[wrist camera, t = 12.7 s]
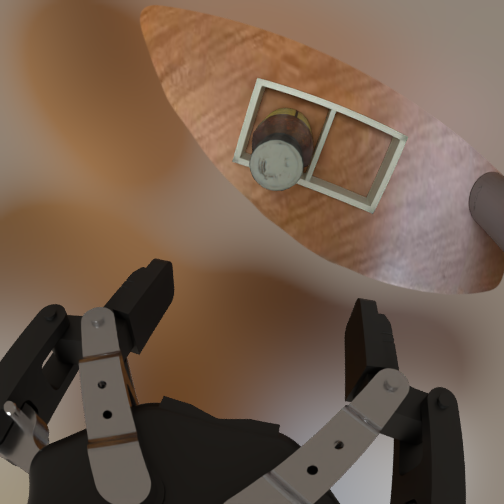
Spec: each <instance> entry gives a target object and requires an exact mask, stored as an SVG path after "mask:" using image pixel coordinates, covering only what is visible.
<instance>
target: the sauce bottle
mask: <svg viewBox="0 0 504 504" xmlns="http://www.w3.org/2000/svg"><path fill="white" fill-rule="evenodd" d="M312 153H313V137H312V133H311V129H310V125H309V123H308V120H307V119H306V117H305V116H304V115H303V114H302V113H300V112H298V111H297V110H294V109H291V108H280V109H278V110H275V111H273V112H272V113H271V114H269V115H268V116H267V117H266V118H265V119H264V120H263V121H262V122H261V123H260V124H259V125H258V127H257V128H256V130H255V131H254V133H253V139H252V154H251V158H250V162H249V166H250V171H251V173H252V176H253V178H254V179H255V180H256V182H257V183H259V184H260V185H261V186H262V187H264V188H266V189H269V190H273V191H279V190H280V191H283V190H286V189H288V188H290V187H292V186H293V185H295V184H296V183H297V182H298V181H299V179H300V178H301V176H302V173H303V168H304V167H306V166H307V165H309V163H310V161H311V157H312Z"/></svg>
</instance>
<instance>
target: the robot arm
mask: <svg viewBox="0 0 504 504" xmlns="http://www.w3.org/2000/svg"><path fill="white" fill-rule="evenodd" d="M469 206H470V212H471V215H472V216H473V218H474V220H475V221H476V222H477V223H478V224H479V225H480V226H481V227H482V228H483V229H484V230H485V232H486V233H487V234H488V235H489V236H490V237H491V238H492V239H493V240H494V242H495V243H496V244H497V245H498V246H499V247H500V248H501V250H502V251H503V252H504V176H503V175H501V174H499V173H496V172H490V173H487V174H484V175H483V176H482V177H480V178H479V179H478V180H477V182H476V183H475V185H474V186H473V188H472V191H471V194H470V199H469ZM173 296H174V280H173V267H172V263H171V262H170V261H164V260H160V259H153V260H152V261H151V263H150V264H149V265H148V266H147V267H146V268H144V267H142V268H140V269H138V270H136V271H135V272H133V273H132V274H131V275H130V276H129V277H128V279H127V281H125V282H124V283H123V284H122V286H121V287H120V288H119V289H118V290H117V292H116V293H115V294H114V295H113V296H112V297H111V299H110V300H109V301H108V302H107V303H106V305H105V306H104V307H97V308H93V309H91V310H89V311H87V312H86V313H85V314H84V315H83V316H72V315H67V313H66V311H65V309H64V307H63V306H61V305H57V304H53V305H48V306H46V307H44V308H43V309H42V310H41V311H40V312H39V313H38V314H37V315H36V317H35V318H34V319H33V320H32V321H31V323H30V324H29V325H28V326H27V328H26V329H25V330H24V331H23V333H22V334H21V335H20V336H19V338H18V339H17V340H16V341H15V343H14V344H13V345H12V347H11V348H10V349H9V351H8V352H7V353H6V355H5V356H4V357H3V359H2V360H1V362H0V457H2V458H4V459H6V460H7V461H8V462H10V463H11V464H13V465H15V466H18V467H20V468H21V469H23V470H24V471H25V472H27V473H28V474H29V482H30V486H29V499H28V504H340V503H339V502H338V500H337V499H336V497H335V496H334V494H333V493H332V492H331V490H330V488H331V487H332V486H333V485H334V484H335V483H336V482H337V481H338V480H339V479H340V478H341V477H342V476H343V475H344V474H345V473H346V472H347V470H348V469H349V468H350V467H351V466H352V465H353V464H354V463H355V462H356V461H357V460H358V458H359V457H360V456H361V455H362V454H363V453H364V452H365V450H366V449H367V448H368V447H369V446H370V444H371V443H372V442H373V441H374V440H375V438H376V437H377V436H378V435H379V433H381V434H384V435H386V436H389V437H392V438H394V454H393V475H392V490H391V501H390V504H466V486H465V463H464V451H463V440H462V432H461V424H460V418H459V411H458V404H457V400H456V398H455V396H454V395H453V394H452V392H450V391H449V390H447V389H446V388H442V387H438V388H434V389H432V390H431V391H430V392H429V394H428V393H425V392H423V391H420V390H417V389H414V388H412V387H411V386H409V382H408V380H407V378H406V377H405V376H404V375H403V374H402V373H401V372H400V371H399V367H398V361H397V355H396V349H395V344H394V338H393V335H392V328H391V324H390V322H389V321H388V319H387V318H386V316H385V315H384V314H378V311H377V305H376V302H375V301H373V300H367V299H361V298H358V299H357V301H356V303H355V306H354V308H353V311H352V313H351V316H350V318H349V321H348V323H347V326H346V331H345V401H348V402H351V403H350V404H349V405H348V406H347V405H346V406H345V407H343V408H342V409H341V410H340V411H339V412H338V413H337V414H336V415H335V416H334V417H333V418H332V419H331V420H330V421H329V422H328V423H327V424H326V425H325V426H324V427H323V428H322V429H321V430H319V431H318V432H317V433H316V434H315V435H314V436H313V437H312V438H311V439H309V440H308V441H307V442H306V443H305V444H304V445H303V446H300V445H298V444H297V443H296V442H295V441H294V440H292V439H291V438H289V437H287V436H286V435H284V434H282V433H279V427H280V425H278V424H272V423H267V422H262V421H256V420H252V419H218V418H215V417H213V416H211V415H209V414H208V413H205V412H204V411H202V410H200V409H198V408H196V407H195V406H193V405H191V404H188V403H185V402H181V401H178V400H175V399H172V398H169V397H165V396H164V397H163V399H162V401H161V403H145V404H140V405H139V402H138V399H137V396H136V392H135V388H134V384H133V380H132V376H131V372H130V367H129V363H128V359H127V356H128V355H129V353H130V352H133V353H136V354H140V353H141V351H142V349H143V348H144V346H145V344H146V343H147V341H148V339H149V338H150V336H151V334H152V333H153V331H154V330H155V328H156V326H157V325H158V323H159V322H160V320H161V318H162V317H163V315H164V313H165V312H166V310H167V309H168V307H169V305H170V304H171V302H172V300H173ZM51 350H52V351H53V353H52V355H51V357H50V358H49V359H48V361H47V362H46V364H45V365H44V367H43V368H42V364H43V362H44V360H45V359H46V358H47V356H48V355H49V353H50V352H51ZM78 370H79V373H80V383H81V393H82V401H83V409H84V416H85V422H86V429H84V430H82V431H79V432H77V433H75V434H73V435H70V436H68V437H66V438H63V439H61V440H58V441H56V442H54V443H51V444H49V438H48V437H49V429H48V426H47V424H48V423H49V421H50V419H51V417H52V415H53V413H54V411H55V410H56V408H57V406H58V404H59V403H60V401H61V399H62V397H63V396H64V394H65V392H66V390H67V389H68V387H69V385H70V384H71V382H72V380H73V379H74V377H75V375H76V374H77V372H78ZM48 444H49V445H48Z"/></svg>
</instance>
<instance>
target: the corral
mask: <svg viewBox="0 0 504 504" xmlns="http://www.w3.org/2000/svg"><path fill="white" fill-rule="evenodd" d="M265 87H268V88H272V89H275V90H278V91H281V92H285V93H288V94H291V95H294V96H297V97H300V98H303V99H306V100H308V101H311V102H314V103H317V104H319V105H322V106H325V107H327V108H330V109H329V112H328V114H327V117H326V120H325V123H324V125H323V128H322V131H321V133H320V136H319V139H318V141H317V144H316V147H315V149H314V152H313V155H312V157H311V161H310V163H309V165H308V168H307V171H306V173H302V176H301V178H300V179H299V181H298V182H297V183H296V184H299V185H302V186H305V187H307V188H310V189H313V190H315V191H318V192H320V193H323V194H326V195H328V196H331V197H333V198H336V199H338V200H341V201H343V202H346V203H348V204H351V205H353V206H355V207H358V208H360V209H363V210H365V211H367V212H370V213H372V214H373V213H374V211H375V209H376V207H377V205H378V203H379V201H380V199H381V197H382V194H383V192H384V190H385V188H386V186H387V184H388V182H389V180H390V177H391V175H392V173H393V171H394V169H395V166H396V164H397V162H398V160H399V157H400V155H401V153H402V150H403V148H404V146H405V143H406V141H407V139H408V137H407V136H405V135H403V134H401V133H399V132H397V131H395V130H393V129H391V128H389V127H387V126H385V125H383V124H381V123H379V122H377V121H375V120H372V119H370V118H368V117H366V116H363V115H361V114H359V113H357V112H354V111H352V110H349V109H347V108H345V107H342V106H340V105H337V104H335V103H332V102H329V101H327V100H324V99H322V98H319V97H316V96H313V95H310V94H308V93H305V92H302V91H299V90H296V89H293V88H290V87H287V86H283V85H280V84H277V83H274V82H270V81H267V80H263V79H259V78H257V81H256V84H255V87H254V90H253V94H252V97H251V100H250V103H249V107H248V110H247V113H246V117H245V120H244V123H243V127H242V130H241V133H240V137H239V140H238V144H237V147H236V151H235V154H234V158H233V161H232V162H235V163H238V164H241V165H244V166H248V167H250V166H249V162H250V158H251V154H249V153H245V152H246V149H247V145H248V142H249V139H250V135H251V132H252V129H253V126H254V122H255V119H256V116H257V113H258V109H259V106H260V103H261V100H262V97H263V94H264V91H265ZM336 111H338V112H340V113H343V114H345V115H347V116H350V117H352V118H355V119H357V120H359V121H362V122H364V123H366V124H368V125H371V126H373V127H375V128H377V129H379V130H381V131H383V132H386V133H388V134H390V135H392V136H393V138H392V141H391V143H390V146H389V148H388V150H387V153H386V155H385V157H384V160H383V162H382V164H381V167H380V169H379V171H378V173H377V176H376V178H375V180H374V182H373V184H372V187H371V189H370V191H369V193H368V195H367V197H364V196H361V195H359V194H357V193H354V192H352V191H349V190H347V189H345V188H342V187H340V186H337V185H335V184H332V183H330V182H327V181H325V180H322V179H319V178H317V177H314V176H312V174H313V171H314V168H315V166H316V163H317V161H318V158H319V156H320V153H321V150H322V148H323V145H324V142H325V140H326V137H327V135H328V132H329V129H330V127H331V124H332V121H333V119H334V116H335V113H336Z"/></svg>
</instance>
